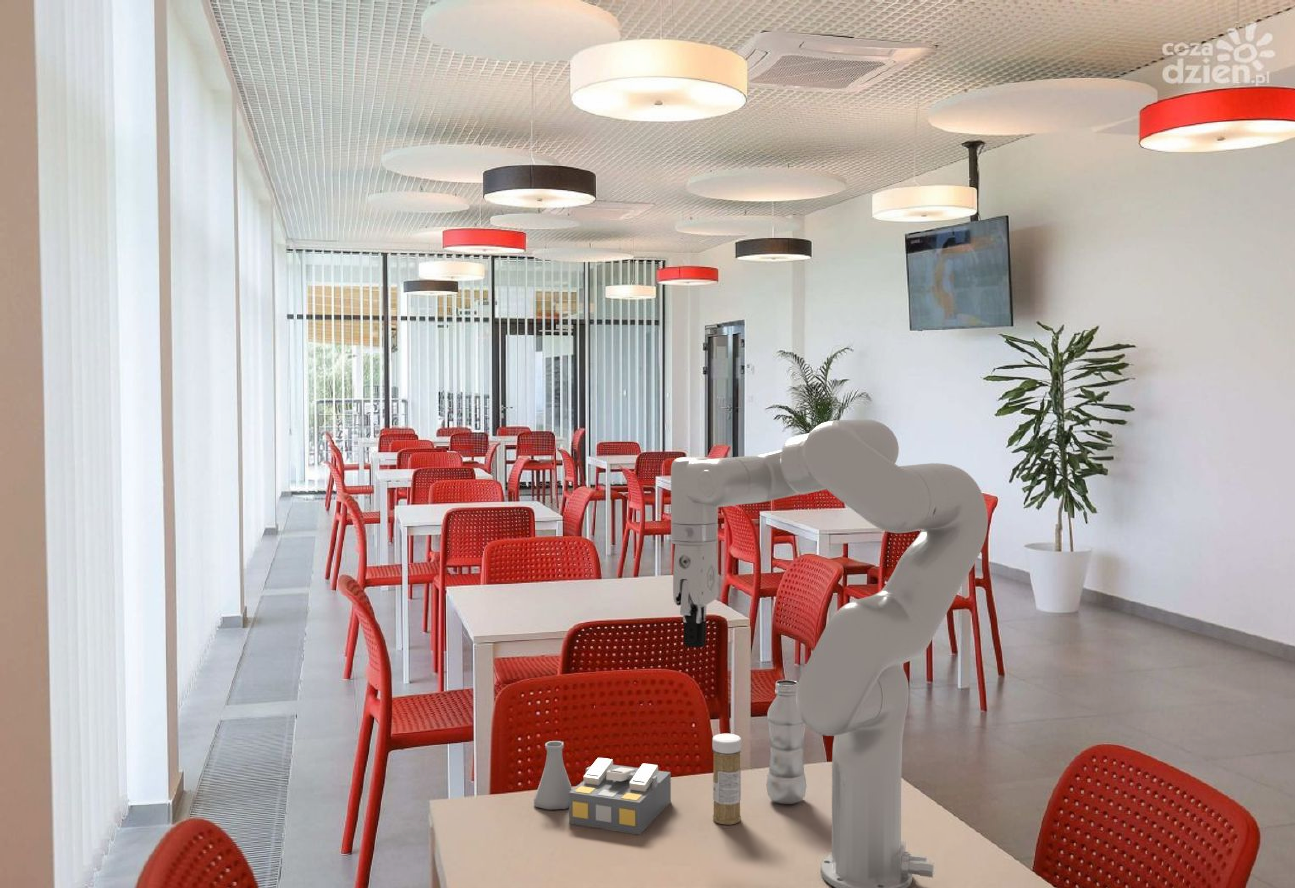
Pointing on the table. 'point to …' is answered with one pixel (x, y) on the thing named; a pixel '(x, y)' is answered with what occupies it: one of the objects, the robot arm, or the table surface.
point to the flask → (553, 780)
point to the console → (619, 803)
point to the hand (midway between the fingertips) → (694, 645)
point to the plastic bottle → (786, 746)
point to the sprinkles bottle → (726, 778)
